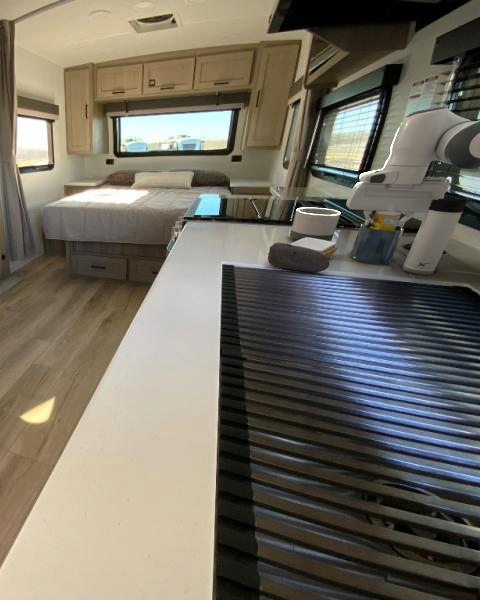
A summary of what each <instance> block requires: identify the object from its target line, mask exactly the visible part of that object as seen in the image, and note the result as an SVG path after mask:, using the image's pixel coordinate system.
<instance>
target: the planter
mask: <svg viewBox="0 0 480 600" xmlns="http://www.w3.org/2000/svg"><path fill="white" fill-rule="evenodd" d="M340 216H341V212H340V211H338V210H335V209H329V208H321V207H299V208H297V209H296V210H295V214H294V217H293V221H292V225H291V229H290V233H289V236H290V237H291V238H292V239H294V240H296V241H298V240H300V239H303V238H306V237H309V238H315V239H320V240H326V241H331V242H332V240H333V238H334V236H335V231H336V229H337V226H338V223H339V220H340Z"/></svg>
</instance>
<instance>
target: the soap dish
mask: <svg viewBox="0 0 480 600" xmlns="http://www.w3.org/2000/svg"><path fill="white" fill-rule="evenodd" d="M336 244H337V242H335V241H332V240H331V241H326V240H320V239H315V238H309V237H306V238H303V239H300V240H298V241H297V240H296V241H293V242H291V243H290V245H294V246H301V247H305V248H309V249H312V250H315V251H318V252H320V253H322V254H323V255H325V256H326V257H327V258H328V259H331V257H333V255H334V253H336V251H337V250H338V249H339V246H337V245H336Z"/></svg>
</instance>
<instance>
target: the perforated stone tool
mask: <svg viewBox="0 0 480 600" xmlns="http://www.w3.org/2000/svg"><path fill="white" fill-rule="evenodd" d="M290 244H291V243H290ZM290 244H289V243H285V242H275V243H273V244H272V245H270V246H269V250H268V253H267V261H268V264H270V265H271V266H274V267H277V268H281V269H286V270H292V271H296V272H297V271H298V272H306V273H321V272H323V271H326V270H327V269H328V268H329V267H330V263H331V262H330V258H327V257H326V256H325V255H323V254H322V253H320V252H318V251H315V250H312V249H309V248H305V247H301V246H294V245H290Z"/></svg>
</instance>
